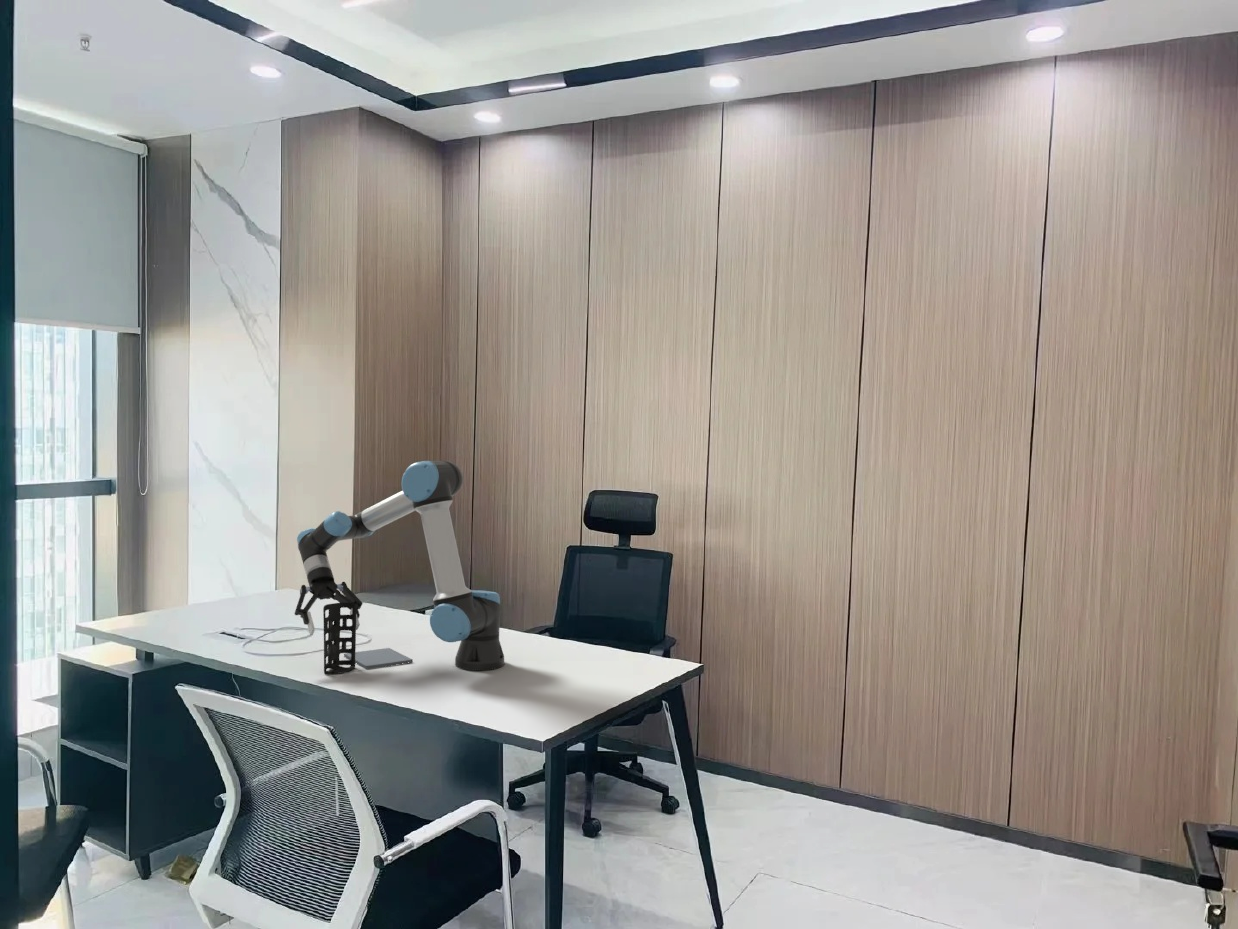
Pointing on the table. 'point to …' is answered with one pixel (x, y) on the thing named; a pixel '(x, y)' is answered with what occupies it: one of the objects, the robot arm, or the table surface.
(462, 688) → the table surface
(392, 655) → the mat
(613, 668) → the table surface
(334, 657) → the holder
